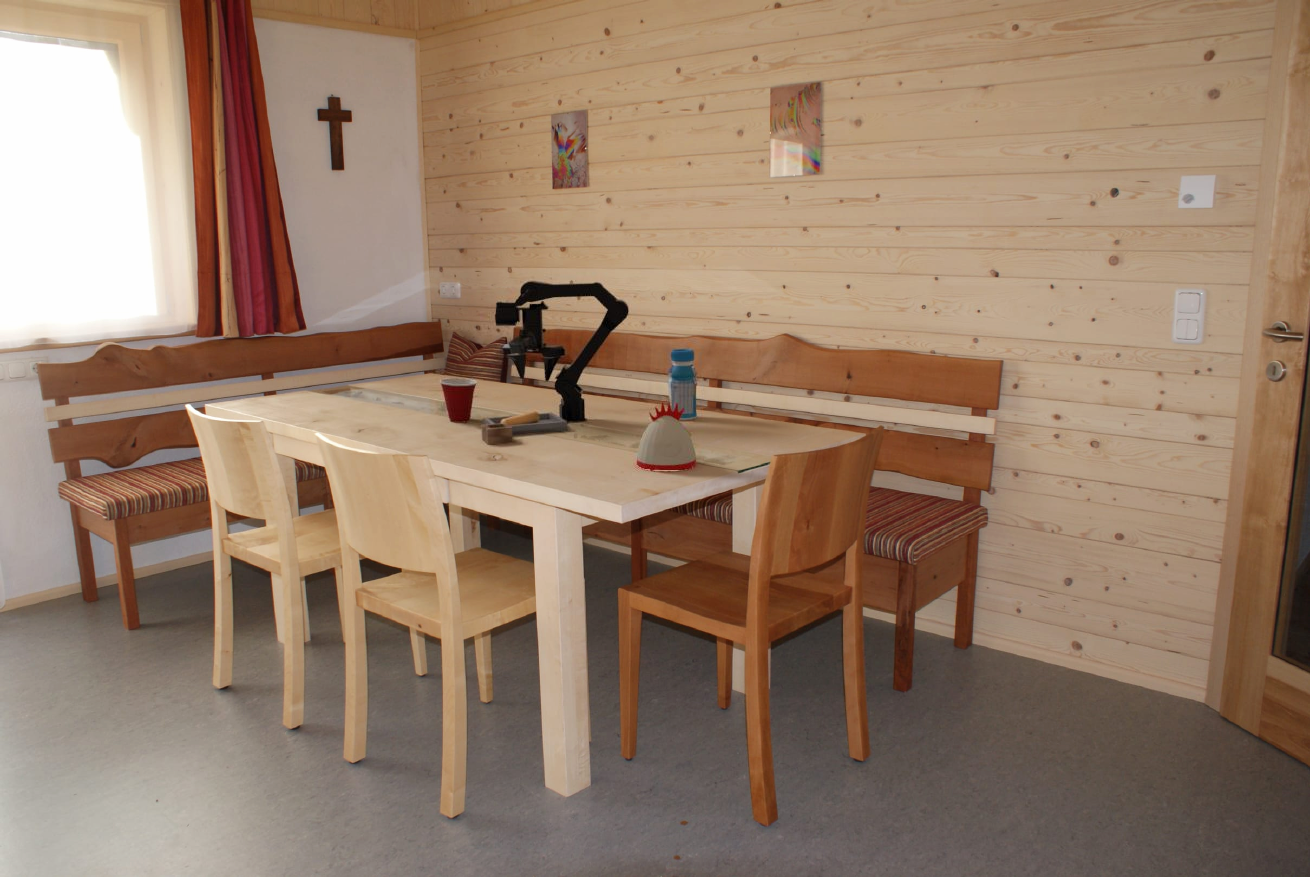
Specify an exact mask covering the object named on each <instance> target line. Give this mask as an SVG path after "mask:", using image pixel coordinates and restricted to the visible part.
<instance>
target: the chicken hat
mask: <svg viewBox="0 0 1310 877" xmlns="http://www.w3.org/2000/svg"><path fill="white" fill-rule="evenodd" d="M654 407H655V408H654V409H655V412H656V416H654V415H653V414H652V413H651V412H650V411H649V412H648V413H649V416H650V418H651V420H652V422H650V423H649V425H648V426H647V427H646V429H645V430H644V432H643V434H642V436H641V439H640V442H639V445H638V449H637V452H636V466H637V465H638V466H639V467H641V468H644V469H650V470H684V471H686V470H685V469H688V470H690V469H689V468H691V469H693V468H695V467H696V466H697V456H696V451H695V447H694V444H693V440H692V433H691V432H689V431H688V430H687V428H686V427H685V425H683V423H682V422H681V420H679V419H680V417H681V415H682V413H683V411H684V407H683V408H682V410H681V411H680V412H678V403H676V405H675V408H674V411H671V406H670V403H669V401H668V403H667V408H666V409H667V410H666V409H665V404H664V402H663V401H661V406H660V411H659V409H658V408H657V406H654ZM695 465H696V466H695ZM639 467H638V468H639ZM692 467H693V468H692Z"/></svg>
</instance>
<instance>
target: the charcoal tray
mask: <svg viewBox="0 0 1310 877" xmlns="http://www.w3.org/2000/svg"><path fill="white" fill-rule="evenodd" d="M538 414H539V416H540V419H539V421H538V422H534V423H530V424H522V425H510V426H511V427H512V436H520V434H521V435H531V434H541V433H552V432H565V431H568V422H567V421H565V420H564V419H562V418H560V416H558V415H557V414H555V413H553V412H542V413H538ZM518 415H519V414H518ZM518 415H517V414H516V415H505V416H494V417H493V416H491V417H484V418H483V420H482V421H483V425H487V424H499V423H501V420H502V419H506V418H510V417H514V416H518Z"/></svg>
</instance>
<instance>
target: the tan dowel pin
mask: <svg viewBox="0 0 1310 877" xmlns="http://www.w3.org/2000/svg"><path fill="white" fill-rule="evenodd" d="M539 414H540V413H539V412H538V411H531V412H527V413H523V414H518V416H515V415H513V416H514V417H510V418H506V419H502V420H501V423H507V424H508V425H522V424H530V423H534V422H538V421H539V419H540V416H539Z"/></svg>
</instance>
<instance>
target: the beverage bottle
mask: <svg viewBox="0 0 1310 877" xmlns="http://www.w3.org/2000/svg"><path fill="white" fill-rule="evenodd" d="M670 362H671V363H672V365H671V366H670V367H669V370H668V373H667V375H668V377H669V378H668V380H667V385H668V402H669V403H670V406H671V411H674V408H675V405H676V403H678V412H680V411H681V410H682V408H683V407H684V411H683V413H682V415H681V417H680V419H679V421H691V420H692V419H693V420H695V419H696V418H697V416H698V415H697V386H698V381H697V378H696V376H697V374H698V373H697V369H696V367H695V366H694V365H693V362H695V351H694V350H693V349H691V348H676V349H675V348H674V349H672V350H670Z"/></svg>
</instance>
